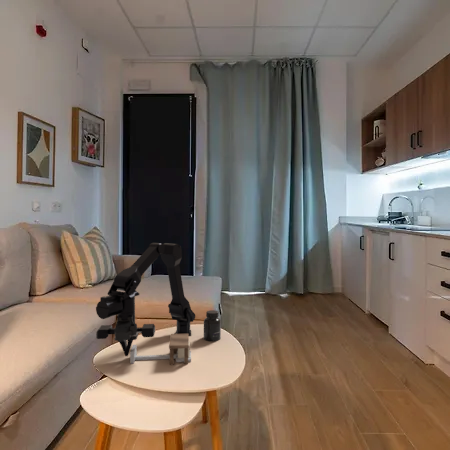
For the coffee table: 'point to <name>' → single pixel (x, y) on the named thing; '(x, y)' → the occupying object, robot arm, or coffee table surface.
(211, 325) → the supplement bottle
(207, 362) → the coffee table surface
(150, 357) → the grey flanged bar
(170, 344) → the walnut tunnel
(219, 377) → the coffee table surface
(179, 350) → the cream block
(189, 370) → the coffee table surface
